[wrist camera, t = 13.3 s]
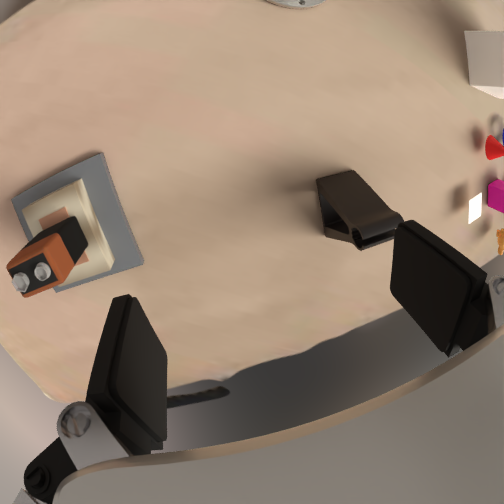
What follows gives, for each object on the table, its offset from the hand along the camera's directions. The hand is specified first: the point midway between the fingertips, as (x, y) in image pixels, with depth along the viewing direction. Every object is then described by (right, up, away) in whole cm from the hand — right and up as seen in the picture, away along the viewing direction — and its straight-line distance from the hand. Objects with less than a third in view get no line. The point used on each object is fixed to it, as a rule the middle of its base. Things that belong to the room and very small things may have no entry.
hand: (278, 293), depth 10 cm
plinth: (-25, +4, +24) cm, 35 cm away
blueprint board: (-25, +5, +25) cm, 36 cm away
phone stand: (+12, +9, +31) cm, 34 cm away
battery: (-24, +3, +21) cm, 32 cm away
